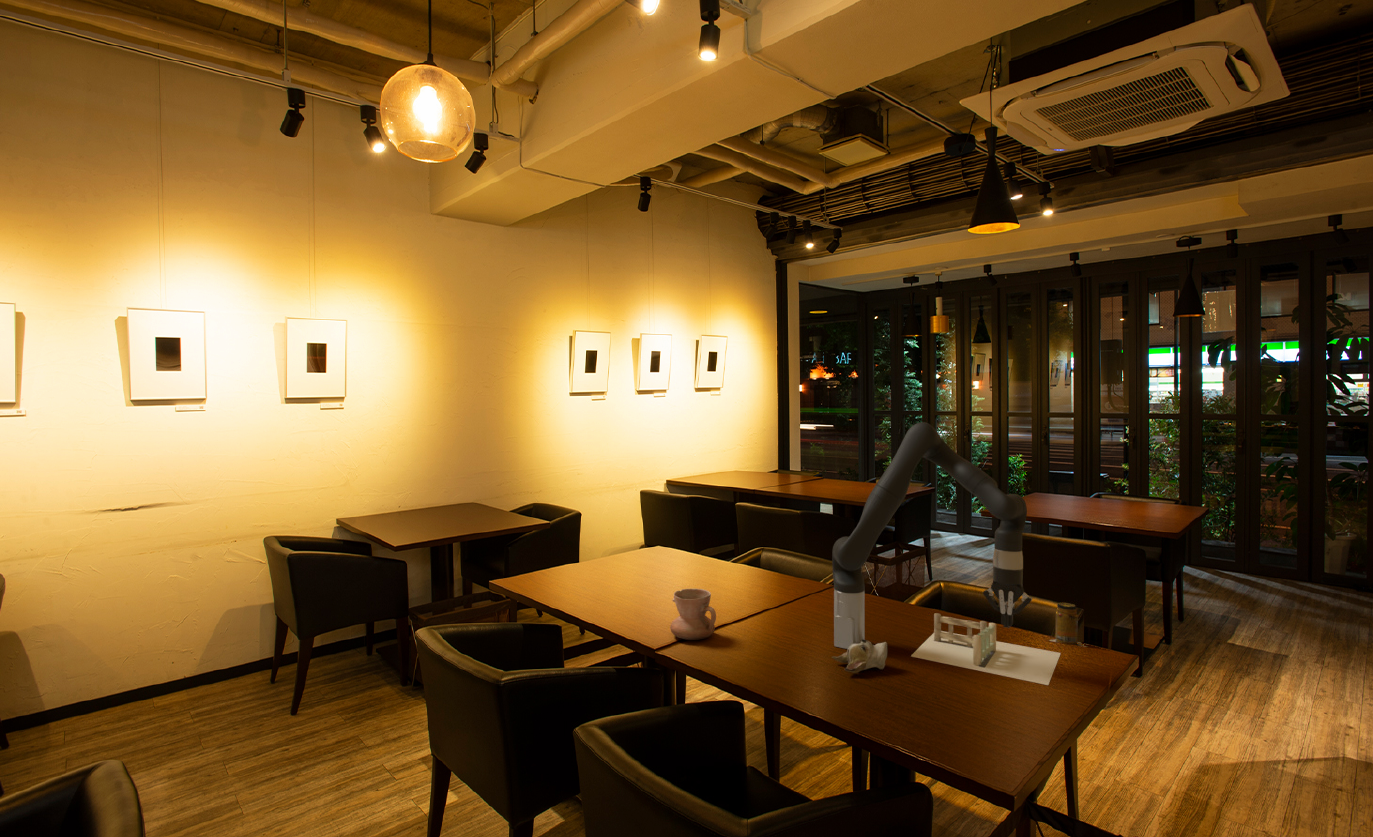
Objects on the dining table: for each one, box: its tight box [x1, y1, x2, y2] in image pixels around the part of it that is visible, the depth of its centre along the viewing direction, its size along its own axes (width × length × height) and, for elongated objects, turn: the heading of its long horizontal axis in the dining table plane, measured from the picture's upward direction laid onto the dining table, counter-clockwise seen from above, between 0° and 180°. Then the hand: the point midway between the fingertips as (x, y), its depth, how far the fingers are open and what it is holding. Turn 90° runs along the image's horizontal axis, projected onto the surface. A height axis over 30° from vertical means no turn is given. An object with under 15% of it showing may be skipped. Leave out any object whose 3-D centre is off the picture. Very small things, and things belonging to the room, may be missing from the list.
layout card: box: [910, 630, 1061, 686], centre depth 197 cm, size 28×36×1 cm
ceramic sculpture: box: [831, 638, 888, 673], centre depth 188 cm, size 11×9×15 cm
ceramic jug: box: [669, 588, 717, 641], centre depth 214 cm, size 18×14×14 cm
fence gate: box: [972, 622, 997, 665], centre depth 194 cm, size 16×2×8 cm, turn 139°
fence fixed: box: [933, 612, 988, 647], centre depth 205 cm, size 16×2×8 cm, turn 55°
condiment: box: [1048, 602, 1088, 648], centre depth 207 cm, size 7×8×12 cm
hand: (1006, 626), depth 186 cm, fingers closed
